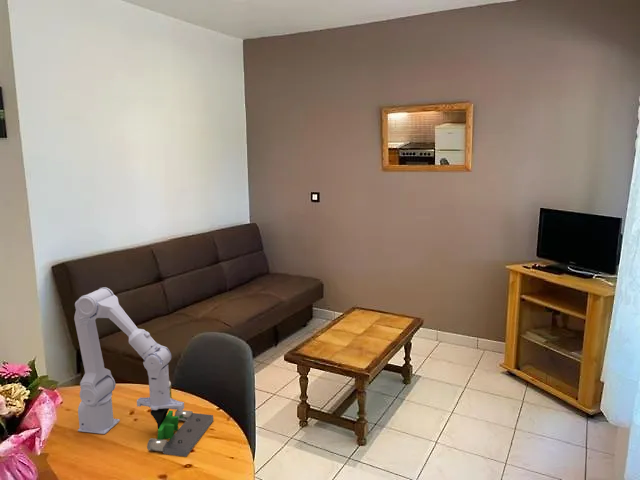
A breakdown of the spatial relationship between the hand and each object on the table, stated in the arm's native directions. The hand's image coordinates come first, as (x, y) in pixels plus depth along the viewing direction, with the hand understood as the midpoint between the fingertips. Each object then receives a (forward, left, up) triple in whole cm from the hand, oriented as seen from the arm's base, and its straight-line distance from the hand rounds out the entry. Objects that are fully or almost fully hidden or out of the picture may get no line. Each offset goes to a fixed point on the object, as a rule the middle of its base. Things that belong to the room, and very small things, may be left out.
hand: (161, 429), depth 150 cm
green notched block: (+2, 0, -2) cm, 3 cm away
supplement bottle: (-9, +17, -2) cm, 19 cm away
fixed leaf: (+6, 0, -2) cm, 6 cm away
